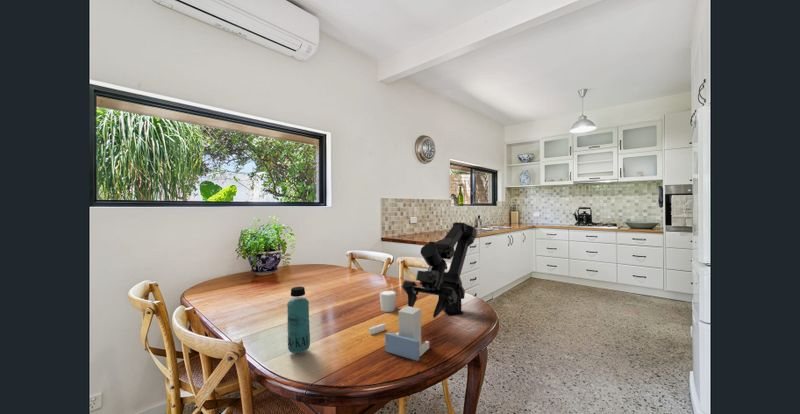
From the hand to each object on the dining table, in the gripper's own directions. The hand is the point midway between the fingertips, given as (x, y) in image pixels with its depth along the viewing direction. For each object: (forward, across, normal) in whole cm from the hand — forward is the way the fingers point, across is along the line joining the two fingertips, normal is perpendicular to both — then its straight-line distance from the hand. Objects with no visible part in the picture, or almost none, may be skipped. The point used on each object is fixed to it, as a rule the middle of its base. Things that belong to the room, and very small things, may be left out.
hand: (421, 314), depth 106 cm
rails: (+9, -11, +2) cm, 15 cm away
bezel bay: (+12, 0, -1) cm, 12 cm away
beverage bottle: (+24, -28, -13) cm, 39 cm away
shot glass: (-6, -24, +18) cm, 30 cm away
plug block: (+11, 0, 0) cm, 11 cm away
